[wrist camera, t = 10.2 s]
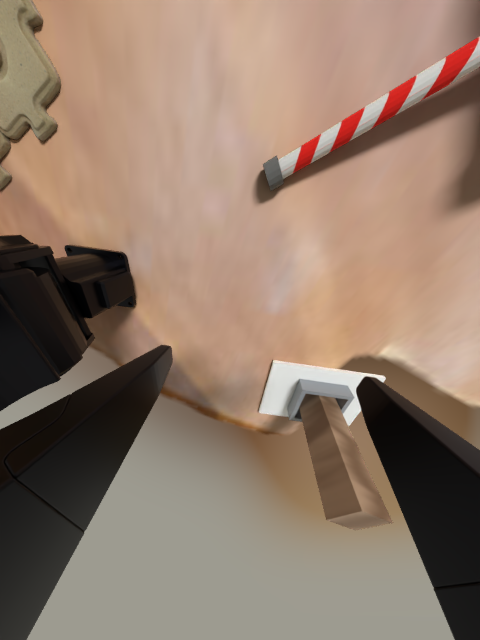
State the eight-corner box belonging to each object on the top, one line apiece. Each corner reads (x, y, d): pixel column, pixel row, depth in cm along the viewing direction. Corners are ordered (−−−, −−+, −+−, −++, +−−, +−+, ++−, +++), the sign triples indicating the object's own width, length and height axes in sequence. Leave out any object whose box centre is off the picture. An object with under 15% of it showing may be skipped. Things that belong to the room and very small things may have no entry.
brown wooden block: (297, 398, 28) (326, 520, 16) (315, 385, 26) (362, 511, 15) (315, 408, 28) (355, 530, 17) (334, 396, 27) (392, 522, 15)
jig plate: (258, 410, 31) (259, 424, 28) (273, 360, 25) (274, 373, 22) (347, 422, 31) (354, 438, 28) (383, 375, 25) (396, 390, 22)
